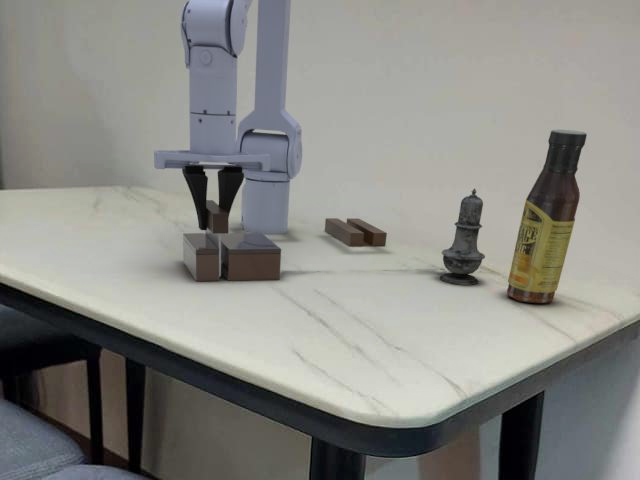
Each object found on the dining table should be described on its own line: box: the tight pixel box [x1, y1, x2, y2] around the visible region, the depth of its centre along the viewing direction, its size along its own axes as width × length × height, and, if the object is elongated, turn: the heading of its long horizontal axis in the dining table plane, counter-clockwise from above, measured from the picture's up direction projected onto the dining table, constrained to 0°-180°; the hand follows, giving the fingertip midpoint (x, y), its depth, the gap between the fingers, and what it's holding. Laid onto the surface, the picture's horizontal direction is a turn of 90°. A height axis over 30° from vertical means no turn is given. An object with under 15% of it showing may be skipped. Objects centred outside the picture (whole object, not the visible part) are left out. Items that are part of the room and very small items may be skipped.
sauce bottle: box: [506, 128, 588, 304], centre depth 90 cm, size 6×6×20 cm
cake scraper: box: [204, 199, 229, 278], centre depth 97 cm, size 10×2×8 cm, turn 16°
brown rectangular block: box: [182, 232, 220, 282], centre depth 97 cm, size 10×3×4 cm, turn 16°
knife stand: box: [324, 217, 388, 248], centre depth 118 cm, size 12×6×3 cm, turn 16°
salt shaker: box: [439, 188, 486, 286], centre depth 99 cm, size 6×6×12 cm
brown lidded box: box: [221, 232, 282, 282], centre depth 99 cm, size 10×7×4 cm
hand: (212, 228), depth 96 cm, fingers closed on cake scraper, 2 cm apart
